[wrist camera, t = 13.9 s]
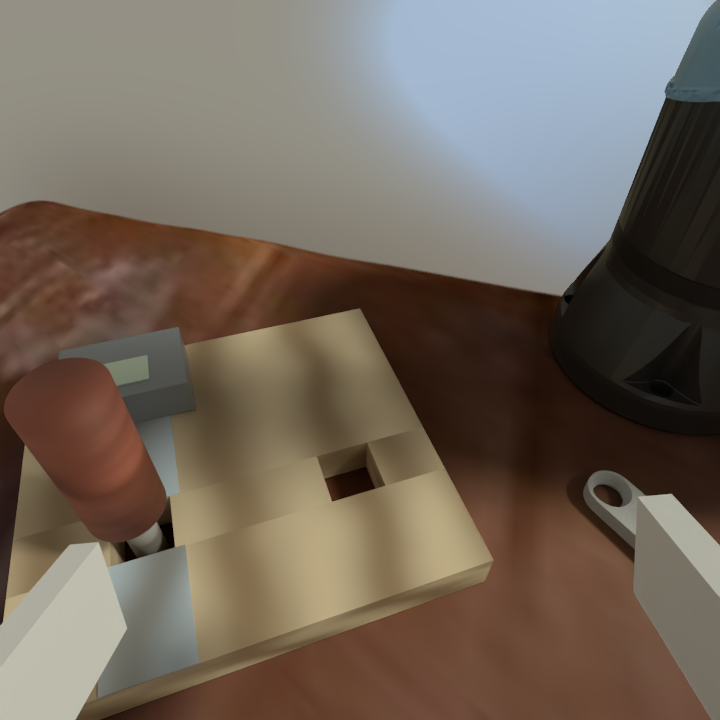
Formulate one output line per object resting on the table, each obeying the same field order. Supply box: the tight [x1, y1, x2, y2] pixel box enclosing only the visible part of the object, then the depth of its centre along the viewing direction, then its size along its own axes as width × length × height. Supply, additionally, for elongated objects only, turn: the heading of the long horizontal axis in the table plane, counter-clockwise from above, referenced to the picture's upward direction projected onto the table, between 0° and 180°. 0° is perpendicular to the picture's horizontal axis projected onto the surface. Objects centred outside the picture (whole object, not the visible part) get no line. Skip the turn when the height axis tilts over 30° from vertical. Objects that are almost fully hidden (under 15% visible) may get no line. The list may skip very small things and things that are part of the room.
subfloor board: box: [3, 308, 493, 720], centre depth 31 cm, size 22×20×3 cm
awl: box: [4, 357, 170, 558], centre depth 24 cm, size 4×4×13 cm
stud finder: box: [59, 327, 196, 424], centre depth 32 cm, size 7×5×2 cm
